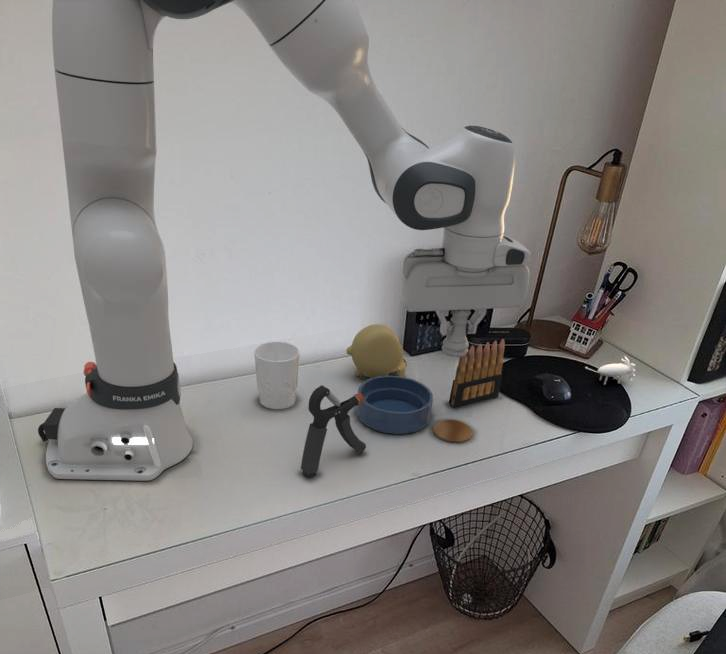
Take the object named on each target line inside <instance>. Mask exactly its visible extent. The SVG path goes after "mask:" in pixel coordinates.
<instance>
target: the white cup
mask: <svg viewBox="0 0 726 654" xmlns="http://www.w3.org/2000/svg"><path fill="white" fill-rule="evenodd" d="M253 354H254V363H255V365H254V367H255V376H256V377H255V378H256V385H257V391H258V400H259V403H260V405H262V406H264V408H267V409H269V410H285V409H289V408H290V407H292V406H294V405H295V404H296V401H297V389H298V380H299V365H300V364H299V363H300V349H299V348H298V347H297V346H296V345H294V344H292V343H289V342H285V341H269V342H268V341H267V342H263V343H261V344H259V345H257V346H256V347H254V351H253Z"/></svg>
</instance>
